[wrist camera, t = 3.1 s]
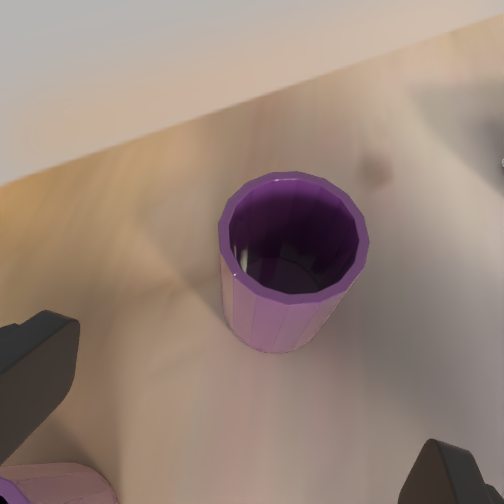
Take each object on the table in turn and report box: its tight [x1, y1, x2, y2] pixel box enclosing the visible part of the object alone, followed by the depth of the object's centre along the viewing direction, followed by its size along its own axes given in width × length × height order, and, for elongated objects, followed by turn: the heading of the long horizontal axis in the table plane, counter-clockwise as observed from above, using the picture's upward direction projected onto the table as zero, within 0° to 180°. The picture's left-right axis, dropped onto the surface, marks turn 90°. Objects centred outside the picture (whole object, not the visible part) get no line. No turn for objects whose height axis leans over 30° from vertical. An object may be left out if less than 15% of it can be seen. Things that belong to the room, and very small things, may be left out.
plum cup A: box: [218, 171, 369, 353], centre depth 19 cm, size 6×6×8 cm
